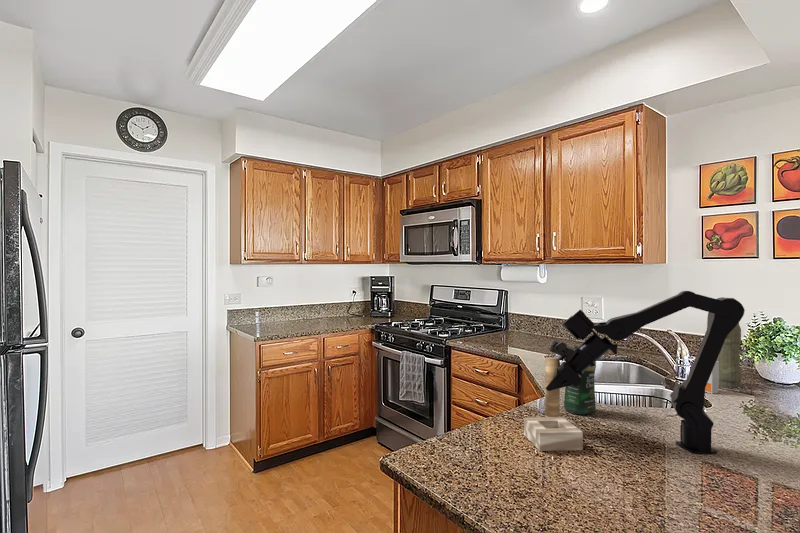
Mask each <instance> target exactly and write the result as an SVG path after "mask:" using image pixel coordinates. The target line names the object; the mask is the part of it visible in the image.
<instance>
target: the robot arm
mask: <svg viewBox="0 0 800 533" xmlns="http://www.w3.org/2000/svg"><path fill="white" fill-rule="evenodd" d="M730 298H731V297H718V298H713V297H709V296H705V295H702V294H698V293H695V292H693V291H691V290H682V291H680V292H678V293H677V294H675V295H672V296H670V297H668V298H666V299H663V300H661V301H659V302H657V303H655V304H652V305H649V306H648V307H645V308H644V309H641V310H637V312H636V311H635V312H632V313H627V314H623V315H619V316H614V317H611V318H610V319H607V320H606V321H602V322H601V321H600V322H593V321H592V320H591V319H590V318H589V317H588V316H587V315H586V313H585V311H583V310H582V309H579V310H578V311H577V312H575V313H574V314H573V315H570V317H569V318H567V319H566V320H565V321H563V323H562V324H561V326H562V327H563V328H564V329H565V330H566V331H567V332H569V334H570V335H572V337H573V338H574V339H575V340H579V339H580V340H581V341H583V340H585V339H586V340H585V341H583V342H582V343H581V344H580V345H575V346H574V347H572V346H570V345H568V344H567V343H566V342H563V341H562V340H558V339H555V338H554V339H553V341H552V342H551V345H550V346H549V349H548V350H549V351H550V352H551V353H553V354H557V355H558V359H560V366H559V367H558V366H557V374H556V376H555V377H554V378H553V379H552V381H551V382H550V383H549V384H548V386H547V387H546V389H547V390H548V391H551V390H555V389H559V388H560V389H561V388H565V387H567V386H571V385H572V386H574V387H577V386H578V385H579V384H581V375H582V374H583V372H584V371H585V370H586V369H587V368H588V367H590V366H593V365H594V364H595V363H594V362H595V361H596V362H597V360H599V359H601V358H602V357H603V356H604V355H605V354H606V353H608V352H609V351H611V352H612V353H613V354H614V355H617V354H618V346H619V345H618V343H613V342H612V341H611V340H613V341H616V342H620V341H624V340H626V339H627V338H629V337H630V336H632V335H633V334H635V333H636V332H638V331H639V330H640V329H641V328H644V326H647V325H649V324H651V323H655V322H656V321H658V320H661V319H663V318H666V317H668V316H671V315H674V314H676V313H677V312H680V311H682V310H684V309H687V308H694V309H696V310H701V311H703V312H704V311H705V312H706V313H707V321H706V324H707V325H706V331H705V334H704V336H703V338H702V341H701V343H700V345H699V347H698V350H697V353H696V355H695V357H694V360H693V363H692V366H691V367H690V369H689V372H688V374H687V377H686V379H685V380H684V381H683V382H682V383H681V384H680V383H678V382H674V387H673V390H672V392H671V393H670V394H669V396H670V398H671V400H670V401H671V405H672V407H673V409H674V411H676V414H677V415H678V416H679V417H680V418H681V420H680V428H679V429H680V436H679V438H680V440H679V441H678V440H676V441H675V442H674V443H675V444H676V445H677V446H679V447H681V448H682V449H684V450H686V451H688V452H690V453H691V454H718V450H716V449H715V448H712V428H713V427H714V424H715V423H714V421H713V420H712V419H711V417H709V415H708V414H707V412H705V411H704V406H705V398H706V392H705V387H706V385H707V382H708V380H709V378H710V375H711V373H712V370H713V368H714V366H715V363H716V361H717V358H718V356H719V354H720V351H721V349H722V346H723V344H724V342H725V339H726V337H727V336H728V334H729V333H730V332H731V331H732V330H733V329H734V328H735V327H736V326H737V324H738V323H739V324H740V322H741V320H742V318H743V317H744V315H745V310H746V309H745V307H744V306H743V304H742V303H741V302H740V301H739V300H738V299H736V300H735V298H734V299H730ZM592 333H593V334H592ZM590 334H591V336H590ZM599 334H600V335H604V336H602V337H601V336H600V335H599ZM588 336H589V337H588ZM587 337H588V338H587Z"/></svg>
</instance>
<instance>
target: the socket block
mask: <svg viewBox="0 0 800 533" xmlns="http://www.w3.org/2000/svg"><path fill="white" fill-rule="evenodd" d="M523 435H524V436H525V437H526V438H527V439H528V440H529V441H530V443H531V444H532V445H533V446H535V448H537V450H539V451H540V452H543V451H544V452H545V451H546V452H552V451H557V452H558V451H560V452H561V451H584V450H583V449H584V448H583V446H584V444H583V443H584V441H583V440H584V438H583V437H584V436H583V435H584V433H583V430H580V429H579V428H578V427H577V426H575V424H573V423H571V422H570V421H569V420H568V419H566V418H565V417H563V416H559V417H549V416H545V417H538V416H537V417H523Z"/></svg>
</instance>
